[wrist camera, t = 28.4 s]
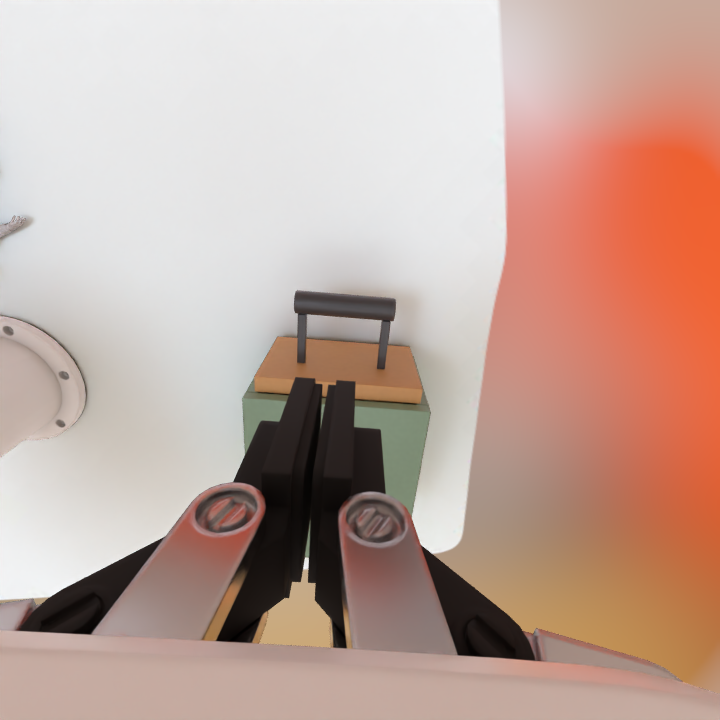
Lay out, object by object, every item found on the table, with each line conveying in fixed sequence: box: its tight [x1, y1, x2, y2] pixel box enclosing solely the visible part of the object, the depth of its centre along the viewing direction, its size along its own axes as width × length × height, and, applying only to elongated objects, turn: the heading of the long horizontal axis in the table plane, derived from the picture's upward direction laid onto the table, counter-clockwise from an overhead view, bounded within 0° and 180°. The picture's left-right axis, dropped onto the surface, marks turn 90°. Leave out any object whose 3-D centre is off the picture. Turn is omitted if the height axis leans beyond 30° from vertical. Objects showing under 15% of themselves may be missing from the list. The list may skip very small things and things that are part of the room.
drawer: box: [254, 290, 423, 404], centre depth 32 cm, size 19×12×8 cm, turn 175°
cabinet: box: [242, 356, 431, 557], centre depth 33 cm, size 15×13×10 cm
